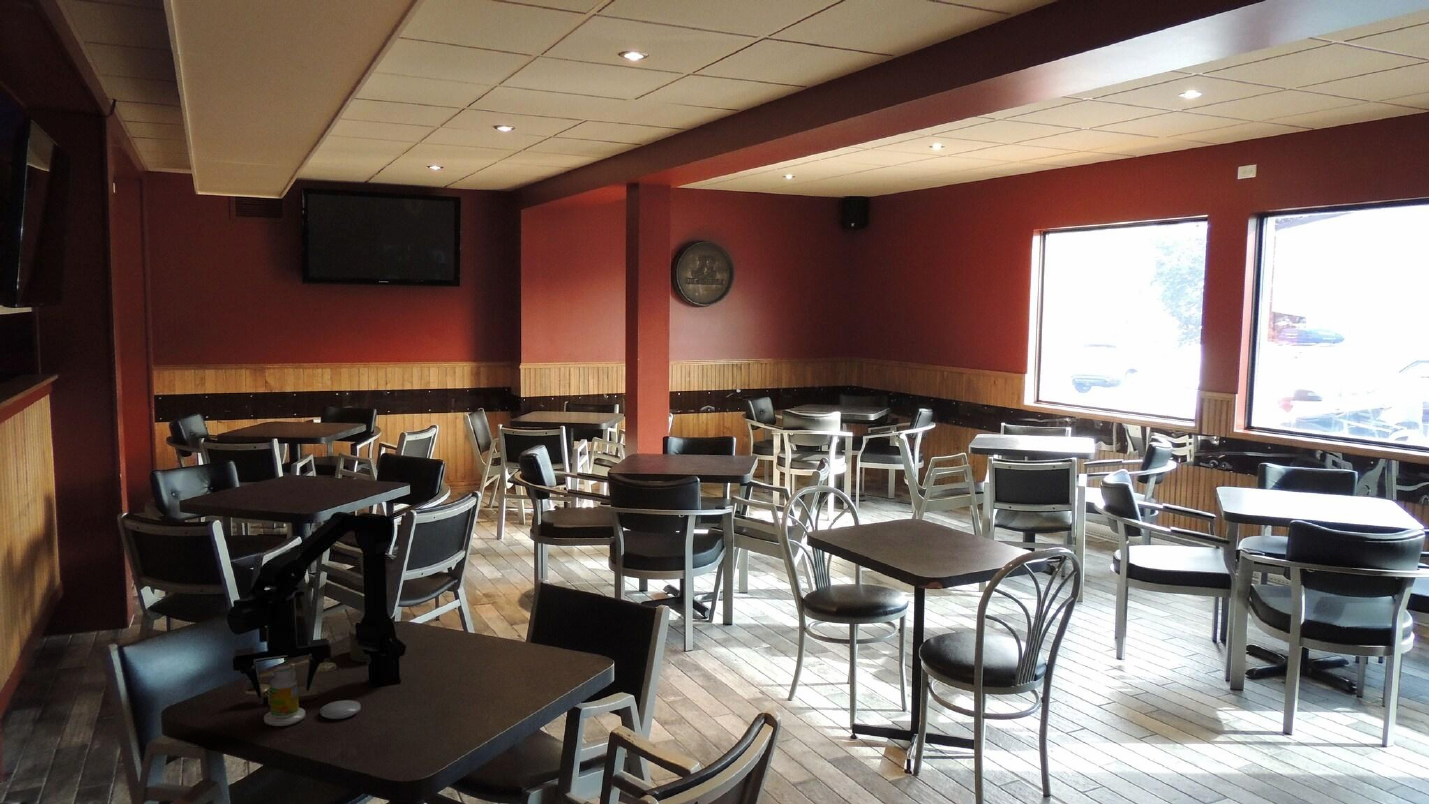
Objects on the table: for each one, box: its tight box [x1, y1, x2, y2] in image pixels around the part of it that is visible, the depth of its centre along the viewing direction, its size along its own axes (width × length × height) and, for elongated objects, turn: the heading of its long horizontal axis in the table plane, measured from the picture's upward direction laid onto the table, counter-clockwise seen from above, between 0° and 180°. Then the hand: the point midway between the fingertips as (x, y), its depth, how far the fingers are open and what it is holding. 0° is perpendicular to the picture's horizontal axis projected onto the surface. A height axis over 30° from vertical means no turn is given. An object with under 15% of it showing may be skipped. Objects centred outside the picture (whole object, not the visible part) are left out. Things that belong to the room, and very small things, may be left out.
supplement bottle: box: [269, 665, 300, 718], centre depth 212 cm, size 5×5×10 cm
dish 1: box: [263, 707, 306, 727], centre depth 213 cm, size 8×8×1 cm
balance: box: [244, 658, 337, 706], centre depth 225 cm, size 19×6×9 cm, turn 115°
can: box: [348, 621, 400, 663], centre depth 253 cm, size 12×12×7 cm
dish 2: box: [320, 699, 361, 720], centre depth 216 cm, size 8×8×1 cm
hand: (283, 693), depth 212 cm, fingers open, 9 cm apart
